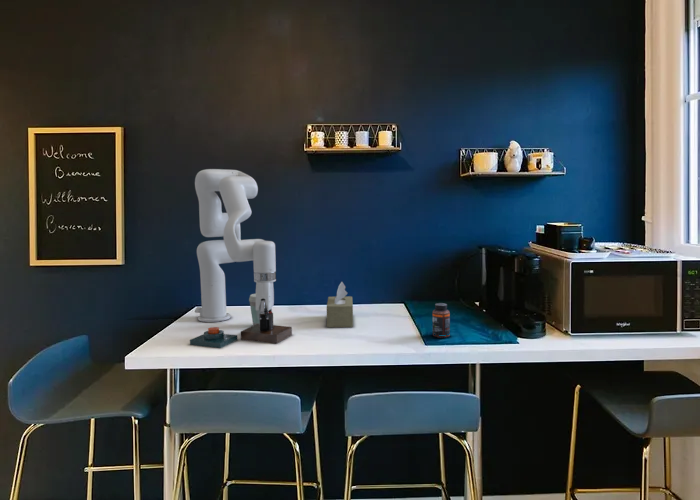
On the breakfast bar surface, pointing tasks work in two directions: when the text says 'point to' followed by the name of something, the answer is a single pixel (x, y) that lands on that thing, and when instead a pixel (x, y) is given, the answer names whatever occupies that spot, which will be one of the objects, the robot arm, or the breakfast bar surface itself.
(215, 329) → the button
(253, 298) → the coffee cup
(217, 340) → the button box
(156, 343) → the breakfast bar surface
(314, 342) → the breakfast bar surface
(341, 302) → the tissue box
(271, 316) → the knob
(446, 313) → the supplement bottle
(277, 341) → the panel
